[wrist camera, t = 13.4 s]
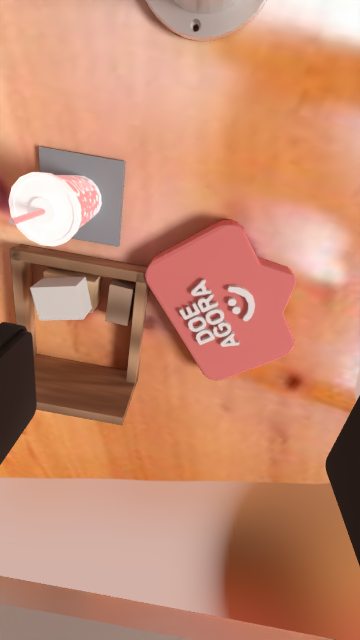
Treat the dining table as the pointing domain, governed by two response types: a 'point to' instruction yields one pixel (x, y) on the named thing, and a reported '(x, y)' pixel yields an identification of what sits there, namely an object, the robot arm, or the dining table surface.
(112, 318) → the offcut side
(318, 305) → the dining table surface
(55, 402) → the rack
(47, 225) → the beverage cup
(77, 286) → the offcut top
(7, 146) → the dining table surface
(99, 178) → the coaster
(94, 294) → the block
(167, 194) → the dining table surface
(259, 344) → the plaque
